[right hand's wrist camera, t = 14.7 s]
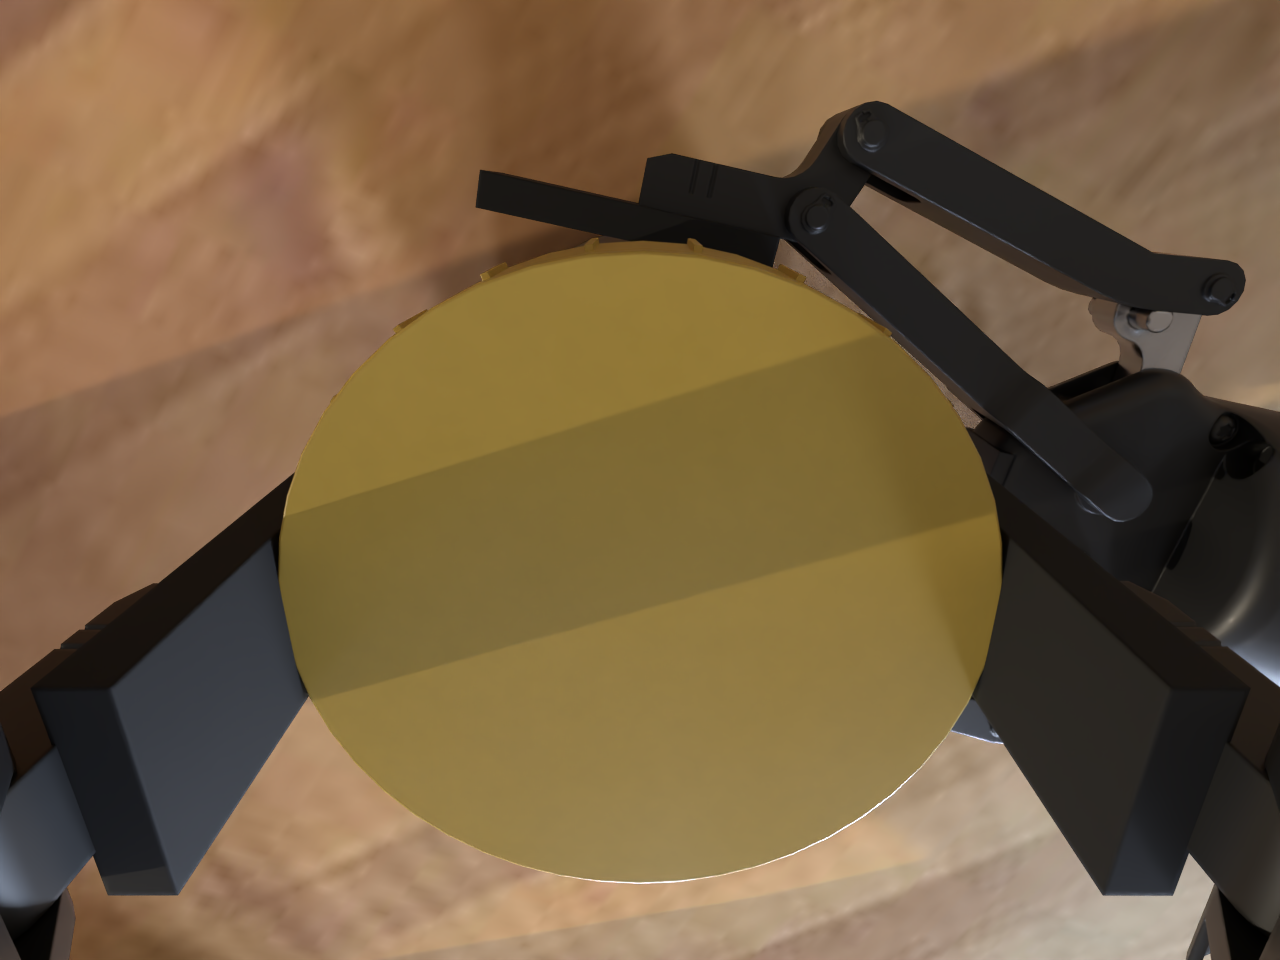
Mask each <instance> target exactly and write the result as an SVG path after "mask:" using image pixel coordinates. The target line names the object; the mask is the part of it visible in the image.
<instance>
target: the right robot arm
mask: <svg viewBox="0 0 1280 960" xmlns="http://www.w3.org/2000/svg"><path fill="white" fill-rule="evenodd" d="M294 474H295V473H293V474H292V475H291V476H290V477H288V478H287V479H286V480H285V481H284V482H282V483H281V484H280V485H279V486H277V487H276V488H275V489H274V490H272V491H271V492H270V493H269V494H268V495H266V496H265V497H264V498H263V499H261V500H260V501H259V502H258V503H257V504H255V505H254V506H253V507H252V508H250V509H249V510H248V511H247V512H245V513H244V514H243V515H242V516H241V517H239V518H238V519H237V520H236V521H234V522H233V523H232V524H231V525H230V526H228V527H227V528H226V529H225V530H223V531H222V532H221V533H220V534H218V535H217V536H216V537H215V538H214V539H212V540H211V541H210V542H209V543H207V544H206V545H205V546H204V547H203V548H201V549H200V550H199V551H198V552H196V553H195V554H194V555H193V556H191V557H190V558H189V559H188V560H187V561H185V562H184V563H183V564H182V565H180V566H179V567H178V568H177V569H176V570H174V571H173V572H172V573H171V574H169V575H168V576H167V577H166V578H164V579H163V580H162V581H161V582H160V583H153V584H151V585H149V586H147V587H145V588H143V589H141V590H139V591H137V592H135V593H133V594H131V595H129V596H127V597H124V598H122V599H120V600H118V601H116V602H114V603H113V604H112V605H110V606H109V607H108V608H107V609H105V610H104V611H103V612H101V613H100V614H99V615H98V616H96V617H95V618H94V619H92V620H91V621H90V622H89V623H87V624H86V625H85V630H78V631H77V632H76V633H75V634H73V635H72V636H71V637H69V638H68V639H67V640H66V641H64V642H63V643H62V644H61V648H60V649H54V650H53V651H52V652H50V653H49V654H48V655H46V656H45V657H44V658H43V659H41V660H40V661H39V662H38V663H36V664H35V665H34V666H32V667H31V668H30V669H29V670H27V671H26V672H25V673H23V674H22V675H21V676H20V677H18V678H17V679H16V680H15V681H13V682H12V683H11V684H9V685H8V686H7V687H6V688H4V689H3V690H2V691H0V960H69V957H70V950H71V944H72V937H73V931H74V925H75V912H74V906H73V902H72V899H71V897H70V894H69V892H68V889H67V886H68V885H69V884H70V883H71V881H72V880H73V879H74V878H75V877H76V875H77V874H78V873H79V872H80V870H81V869H82V868H83V867H84V866H85V864H86V863H87V862H88V861H89V860H90V858H91V857H92V856H93V857H94V859H95V862H96V865H97V867H98V870H99V873H100V875H101V878H102V881H103V883H104V886H105V889H106V891H107V894H108V895H178V894H179V893H180V891H181V890H182V888H183V887H184V885H185V884H186V882H187V881H188V879H189V878H190V876H191V875H192V873H193V872H194V870H195V869H196V867H197V866H198V864H199V862H200V861H201V859H202V858H203V856H204V855H205V853H206V852H207V850H208V849H209V847H210V846H211V844H212V843H213V841H214V840H215V838H216V837H217V835H218V833H219V832H220V830H221V829H222V827H223V826H224V824H225V823H226V821H227V820H228V818H229V817H230V815H231V814H232V812H233V811H234V809H235V808H236V806H237V805H238V803H239V801H240V800H241V798H242V797H243V795H244V794H245V792H246V791H247V789H248V788H249V786H250V785H251V783H252V782H253V780H254V779H255V777H256V776H257V774H258V772H259V771H260V769H261V768H262V766H263V765H264V763H265V762H266V760H267V759H268V757H269V756H270V754H271V753H272V751H273V750H274V748H275V747H276V745H277V744H278V742H279V740H280V739H281V737H282V736H283V734H284V733H285V731H286V730H287V728H288V727H289V725H290V724H291V722H292V721H293V719H294V718H295V716H296V715H297V713H298V712H299V710H300V708H301V707H302V705H303V704H304V702H305V701H306V699H307V698H308V696H309V694H308V692H307V690H306V688H305V685H304V683H303V681H302V678H301V676H300V674H299V672H298V669H297V666H296V663H295V658H294V654H293V649H292V644H291V639H290V635H289V630H288V625H287V620H286V615H285V611H284V606H283V601H282V596H281V591H280V586H279V580H278V563H279V536H280V531H281V526H282V520H283V515H284V509H285V504H286V498H287V494H288V491H289V488H290V485H291V483H292V480H293V477H294ZM986 475H987V478H988V481H989V484H990V487H991V490H992V493H993V496H994V499H995V503H996V509H997V515H998V522H999V528H1000V534H1001V540H1002V585H1001V591H1000V596H999V601H998V605H997V610H996V615H995V620H994V625H993V629H992V634H991V639H990V644H989V649H988V653H987V657H986V662H985V666H984V669H983V672H982V674H981V676H980V678H979V680H978V683H977V685H976V687H975V689H974V691H973V693H972V697H973V698H974V700H975V701H976V703H977V704H978V706H979V707H980V709H981V710H982V712H983V713H984V715H985V716H986V718H987V719H988V721H989V723H990V724H991V726H992V727H993V729H994V730H995V732H996V733H997V735H998V736H999V738H1000V739H1001V741H1002V742H1003V744H1004V745H1005V747H1006V748H1007V750H1008V752H1009V753H1010V755H1011V756H1012V758H1013V759H1014V761H1015V762H1016V764H1017V765H1018V767H1019V768H1020V770H1021V771H1022V773H1023V774H1024V776H1025V777H1026V779H1027V780H1028V782H1029V784H1030V785H1031V787H1032V788H1033V790H1034V791H1035V793H1036V794H1037V796H1038V797H1039V799H1040V800H1041V802H1042V803H1043V805H1044V806H1045V808H1046V809H1047V811H1048V812H1049V814H1050V816H1051V817H1052V819H1053V820H1054V822H1055V823H1056V825H1057V826H1058V828H1059V829H1060V831H1061V832H1062V834H1063V835H1064V837H1065V838H1066V840H1067V841H1068V843H1069V845H1070V846H1071V848H1072V849H1073V851H1074V852H1075V854H1076V855H1077V857H1078V858H1079V860H1080V861H1081V863H1082V864H1083V866H1084V867H1085V869H1086V870H1087V872H1088V873H1089V875H1090V877H1091V878H1092V880H1093V881H1094V883H1095V884H1096V886H1097V887H1098V889H1099V890H1100V892H1101V893H1102V895H1128V896H1173V894H1174V891H1175V889H1176V886H1177V883H1178V881H1179V878H1180V875H1181V873H1182V870H1183V867H1184V865H1185V862H1186V859H1187V857H1188V854H1189V853H1190V854H1191V856H1192V857H1193V858H1194V859H1195V860H1196V862H1197V863H1198V864H1199V865H1200V866H1201V868H1202V869H1203V870H1204V871H1205V872H1206V874H1207V875H1208V876H1209V877H1210V878H1211V880H1212V881H1213V882H1214V883H1215V884H1214V887H1213V889H1212V892H1211V894H1210V897H1209V899H1208V902H1207V904H1206V907H1205V909H1204V912H1203V914H1202V917H1201V919H1200V922H1199V924H1198V927H1197V929H1196V932H1195V934H1194V937H1193V939H1192V942H1191V944H1190V946H1189V949H1188V951H1187V957H1186V960H1203V958H1204V956H1205V955H1208V954H1211V960H1280V687H1279V686H1278V685H1277V684H1275V683H1274V682H1273V681H1271V680H1270V679H1269V678H1268V677H1266V676H1265V675H1264V674H1262V673H1261V672H1260V671H1258V670H1257V669H1256V668H1255V667H1253V666H1252V665H1251V664H1249V663H1248V662H1247V661H1246V660H1244V659H1243V658H1242V657H1240V656H1239V655H1238V654H1237V653H1235V652H1234V651H1233V650H1231V649H1230V648H1229V647H1228V646H1222V645H1221V641H1220V640H1219V639H1217V638H1216V637H1215V636H1213V635H1212V634H1211V633H1210V632H1208V631H1207V630H1206V629H1204V628H1203V627H1197V622H1195V621H1194V620H1193V619H1191V618H1190V617H1189V616H1188V615H1186V614H1185V613H1184V612H1182V611H1181V610H1180V609H1179V608H1177V607H1176V606H1175V605H1173V604H1172V603H1171V602H1170V601H1168V600H1167V599H1165V598H1162V597H1160V596H1158V595H1156V594H1154V593H1152V592H1150V591H1148V590H1146V589H1144V588H1142V587H1140V586H1138V585H1136V584H1134V583H1132V582H1130V581H1119V580H1118V579H1116V578H1115V577H1114V576H1113V575H1111V574H1110V573H1109V572H1108V571H1107V570H1105V569H1104V568H1103V567H1102V566H1100V565H1099V564H1098V563H1097V562H1095V561H1094V560H1093V559H1092V558H1091V557H1089V556H1088V555H1087V554H1086V553H1084V552H1083V551H1082V550H1081V549H1080V548H1078V547H1077V546H1076V545H1075V544H1073V543H1072V542H1071V541H1070V540H1068V539H1067V538H1066V537H1065V536H1064V535H1062V534H1061V533H1060V532H1059V531H1057V530H1056V529H1055V528H1054V527H1053V526H1051V525H1050V524H1049V523H1048V522H1046V521H1045V520H1044V519H1043V518H1041V517H1040V516H1039V515H1038V514H1037V513H1035V512H1034V511H1033V510H1032V509H1030V508H1029V507H1028V506H1027V505H1026V504H1024V503H1023V502H1022V501H1021V500H1019V499H1018V498H1017V497H1016V496H1014V495H1013V494H1012V493H1011V492H1010V491H1008V490H1007V489H1006V488H1005V487H1003V486H1002V485H1001V484H1000V483H999V482H997V481H996V480H995V479H994V478H992V477H991V476H990V475H989V474H987V473H986Z"/></svg>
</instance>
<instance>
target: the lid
mask: <svg viewBox="0 0 1280 960" xmlns="http://www.w3.org/2000/svg"><path fill="white" fill-rule="evenodd" d="M480 276H481V278H482V281H480V282H478V283H476V284H474V285H472V286H471V287H469V288H467V289H465V290H463V291H461V292H459V293H458V294H456V295H454V296H452V297H450V298H449V299H447V300H445V301H443V302H441V303H440V304H438V305H436V306H434V307H432V308H431V309H430V310H427V309H426V310H424V311H422V312H421V313H419V314H417V315H415V316H413V317H412V318H410V319H408V320H406V321H404V322H402V323H401V324H399V325H397V326H396V327H395V328H394V329H393V330H394V332H395V333H396V334H395V335H393V336H392V337H391V338H389V339H388V340H387V341H386V342H385V343H384V344H383V345H382V346H381V347H380V348H379V349H378V350H377V351H376V352H375V353H374V354H373V355H372V356H371V357H370V358H369V359H368V360H367V361H365V362H364V363H363V364H362V365H361V366H360V367H359V368H358V369H357V370H356V371H355V372H354V373H353V374H352V376H351V377H350V378H349V380H348V381H347V382H346V384H345V385H344V386H343V388H342V389H341V390H340V392H339V393H338V394H337V395H335V396H334V397H333V398H332V400H331V401H330V405H329V406H328V407H327V409H326V410H325V411H324V413H323V415H322V417H321V418H320V420H319V422H318V424H317V426H316V428H315V430H314V431H313V433H312V435H311V437H310V439H309V441H308V443H307V444H306V446H305V448H304V450H303V452H302V454H301V457H300V460H299V463H298V466H297V468H296V471H295V474H294V477H293V480H292V483H291V485H290V488H289V491H288V494H287V498H286V504H285V509H284V515H283V520H282V526H281V531H280V536H279V563H278V580H279V586H280V591H281V596H282V601H283V606H284V611H285V615H286V620H287V625H288V630H289V635H290V639H291V644H292V649H293V654H294V658H295V663H296V666H297V669H298V672H299V674H300V676H301V678H302V681H303V683H304V685H305V688H306V690H307V692H308V694H309V697H310V699H311V700H312V702H313V704H314V705H315V707H316V709H317V710H318V712H319V714H320V715H321V717H322V719H323V720H324V722H325V723H326V725H327V727H328V728H329V730H330V732H331V733H332V734H333V736H334V737H335V738H336V739H337V741H338V742H339V743H340V744H341V746H342V747H343V748H344V749H345V751H346V752H347V753H348V754H349V756H350V757H351V758H352V759H353V761H354V762H355V763H356V764H357V765H358V766H359V767H360V768H361V769H362V770H363V771H364V772H365V773H366V774H367V775H368V776H369V777H370V778H371V779H372V780H373V781H374V782H375V783H376V784H377V785H378V786H379V787H380V788H381V789H382V790H383V791H385V792H386V793H387V794H389V795H390V796H391V797H392V798H394V799H395V800H396V801H398V802H399V803H400V804H401V805H403V806H404V807H405V808H407V809H408V810H409V811H410V812H412V813H413V814H414V815H416V816H417V817H419V818H421V819H422V820H424V821H426V822H427V823H429V824H430V825H432V826H434V827H435V828H437V829H439V830H440V831H442V832H443V833H445V834H447V835H448V836H450V837H452V838H455V839H457V840H459V841H461V842H463V843H465V844H467V845H469V846H471V847H473V848H475V849H478V850H480V851H482V852H484V853H487V854H489V855H492V856H495V857H498V858H501V859H503V860H506V861H509V862H512V863H514V864H517V865H520V866H524V867H528V868H532V869H536V870H540V871H544V872H548V873H552V874H556V875H560V876H566V877H573V878H580V879H586V880H593V881H602V882H620V883H660V882H680V881H687V880H694V879H701V878H709V877H716V876H720V875H725V874H729V873H733V872H737V871H741V870H746V869H750V868H754V867H757V866H760V865H763V864H766V863H769V862H772V861H775V860H778V859H780V858H783V857H786V856H789V855H792V854H794V853H796V852H799V851H801V850H803V849H805V848H807V847H809V846H812V845H814V844H816V843H818V842H820V841H822V840H825V839H827V838H829V837H830V836H832V835H834V834H835V833H837V832H839V831H840V830H842V829H844V828H845V827H847V826H849V825H850V824H852V823H854V822H856V821H857V820H859V819H861V818H862V817H864V816H865V815H866V814H867V813H869V812H870V811H871V810H873V809H874V808H875V807H877V806H878V805H879V804H881V803H882V802H883V801H885V800H886V799H887V798H889V797H890V796H891V795H893V794H894V793H895V792H896V791H897V790H898V789H899V788H900V787H901V786H902V785H903V784H904V783H905V782H906V781H907V780H909V779H910V778H911V777H912V776H913V775H914V774H915V773H916V772H917V771H918V770H919V769H920V768H921V767H922V766H923V765H924V764H925V762H926V761H927V760H928V759H929V758H930V756H931V755H932V754H933V753H934V751H935V750H936V749H937V748H938V747H939V745H940V744H941V743H942V742H943V741H944V739H945V738H946V737H947V736H948V734H949V732H950V731H951V729H952V728H953V726H954V724H955V723H956V721H957V720H958V718H959V717H960V715H961V713H962V712H963V710H964V709H965V707H966V705H967V704H968V702H969V700H970V698H971V696H972V693H973V691H974V689H975V687H976V685H977V683H978V680H979V678H980V676H981V674H982V672H983V669H984V666H985V662H986V657H987V653H988V649H989V644H990V639H991V634H992V629H993V625H994V620H995V615H996V610H997V605H998V601H999V596H1000V591H1001V585H1002V540H1001V534H1000V528H999V522H998V515H997V509H996V503H995V499H994V496H993V493H992V490H991V487H990V484H989V481H988V478H987V475H986V472H985V469H984V466H983V462H982V459H981V457H980V455H979V453H978V451H977V449H976V447H975V445H974V443H973V441H972V439H971V438H970V436H969V434H968V432H967V430H966V428H965V426H964V424H963V422H962V420H961V418H960V416H959V415H958V414H957V412H956V411H955V409H954V408H953V405H952V403H951V402H950V401H949V400H948V399H946V397H945V396H944V394H943V393H942V392H941V390H940V389H939V388H938V386H937V385H936V383H935V382H934V381H933V379H932V378H931V377H930V376H929V375H928V374H927V373H926V372H925V371H924V370H923V369H922V368H921V367H920V366H919V365H918V364H917V363H916V362H915V361H914V360H913V359H912V358H911V357H910V356H909V355H908V354H907V353H906V352H905V351H904V350H903V349H902V348H901V347H900V346H899V345H898V344H897V343H896V342H895V341H894V340H892V339H891V338H890V336H891V334H892V332H890V331H889V330H888V329H887V328H885V327H883V326H881V325H880V324H878V323H876V322H874V321H872V320H871V319H869V318H867V317H865V316H863V315H862V314H860V313H856V312H855V311H853V310H851V309H849V308H848V307H846V306H844V305H842V304H840V303H839V302H837V301H835V300H833V299H832V298H830V297H828V296H826V295H824V294H823V293H821V292H819V291H817V290H815V289H813V288H812V287H810V286H808V285H806V284H804V281H805V279H806V277H805V276H803V275H801V274H799V273H797V272H796V271H794V270H792V269H790V268H788V267H786V266H784V265H781V264H780V265H779V267H778V270H777V269H775V268H772V267H769V266H767V265H764V264H761V263H758V262H756V261H753V260H750V259H748V258H745V257H742V256H739V255H737V254H732V253H728V252H723V251H719V250H714V249H709V248H705V247H703V246H702V245H701V244H700V243H699V242H698V241H697V240H695V239H691V238H688V241H687V244H679V243H666V242H653V241H630V242H614V243H599V238H591V239H590V240H589V241H588V242H587V243H586V244H585V245H584V246H581V247H576V248H571V249H566V250H561V251H557V252H552V253H548V254H545V255H542V256H539V257H536V258H534V259H531V260H528V261H525V262H522V263H519V264H516V265H514V266H511V267H508V266H507V264H506V262H504V263H502V264H499V265H497V266H496V267H494V268H492V269H490V270H488V271H486V272H484V273H482V274H480Z"/></svg>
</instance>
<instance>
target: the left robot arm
mask: <svg viewBox="0 0 1280 960" xmlns="http://www.w3.org/2000/svg"><path fill="white" fill-rule="evenodd" d="M864 185H866V186H868V187H870V188H871V189H873V190H875V191H877V192H879V193H881V194H883V195H884V196H886V197H888V198H890V199H892V200H894V201H896V202H898V203H899V204H901V205H903V206H905V207H907V208H909V209H911V210H912V211H914V212H916V213H918V214H920V215H922V216H924V217H925V218H927V219H929V220H931V221H933V222H935V223H937V224H938V225H940V226H942V227H944V228H946V229H948V230H950V231H952V232H953V233H955V234H957V235H959V236H961V237H963V238H965V239H966V240H968V241H970V242H972V243H974V244H976V245H978V246H979V247H981V248H983V249H985V250H987V251H989V252H991V253H992V254H994V255H996V256H998V257H1000V258H1002V259H1004V260H1006V261H1007V262H1009V263H1011V264H1013V265H1015V266H1017V267H1019V268H1020V269H1022V270H1024V271H1026V272H1028V273H1030V274H1032V275H1033V276H1035V277H1037V278H1039V279H1041V280H1043V281H1045V282H1047V283H1049V284H1051V285H1053V286H1056V287H1058V288H1060V289H1063V290H1066V291H1070V292H1073V293H1076V294H1080V295H1085V296H1089V297H1093V298H1092V299H1091V301H1090V303H1089V307H1088V310H1089V313H1090V314H1091V315H1092V319H1093V322H1094V324H1095V326H1096V327H1097V328H1098V329H1099V330H1100V331H1102V332H1104V333H1106V334H1109V335H1111V336H1113V337H1114V338H1115V339H1116V340H1117V342H1118V344H1119V346H1120V358H1119V361H1115V362H1111V363H1109V364H1106V365H1104V366H1101V367H1099V368H1096V369H1094V370H1091V371H1089V372H1086V373H1084V374H1081V375H1079V376H1076V377H1074V378H1071V379H1069V380H1066V381H1064V382H1061V383H1059V384H1056V385H1054V386H1051V387H1049V388H1047V387H1045V386H1044V385H1043V384H1042V383H1040V382H1039V381H1037V380H1036V379H1035V378H1033V377H1032V376H1030V375H1029V374H1028V373H1026V372H1025V371H1024V370H1023V369H1022V368H1020V367H1019V366H1018V365H1017V364H1016V363H1015V362H1014V361H1013V360H1012V359H1011V358H1010V357H1009V356H1008V355H1007V354H1006V353H1004V352H1003V351H1002V350H1001V349H1000V348H999V347H998V346H997V345H996V344H995V343H994V342H993V341H992V340H991V339H990V338H989V337H988V336H986V335H985V334H984V333H983V332H982V331H981V330H980V329H979V328H978V327H977V326H976V325H975V324H974V323H973V322H972V321H971V320H970V319H968V318H967V317H966V316H965V315H964V314H963V313H962V312H961V311H960V310H959V309H958V308H957V307H956V306H955V305H954V304H953V303H952V302H950V301H949V300H948V299H947V298H946V297H945V296H944V295H943V294H942V293H941V292H940V291H939V290H938V289H937V288H936V287H935V286H933V285H932V284H931V283H930V282H929V281H928V280H927V279H926V278H925V277H924V276H923V275H922V274H921V273H920V272H919V271H918V270H917V269H915V268H914V267H913V266H912V265H911V264H910V263H909V262H908V261H907V260H906V259H905V258H904V257H903V256H902V255H901V254H900V253H899V252H897V251H896V250H895V249H894V248H893V247H892V246H891V245H890V244H889V243H888V242H887V241H886V240H885V239H884V238H883V237H882V236H881V235H879V234H878V233H877V232H876V231H875V230H874V229H873V228H872V227H871V226H870V225H869V224H868V223H867V222H866V221H865V220H864V219H863V218H861V217H860V216H859V215H858V214H857V213H856V212H855V211H854V210H853V209H852V208H851V207H850V205H851V204H852V202H853V201H854V199H855V198H856V197H857V195H858V194H859V192H860V191H861V189H862V188H863V186H864ZM476 208H481V209H485V210H490V211H495V212H499V213H504V214H508V215H513V216H517V217H522V218H527V219H531V220H536V221H540V222H545V223H549V224H554V225H558V226H563V227H568V228H572V229H577V230H581V231H586V232H590V233H595V234H599V235H604V236H609V237H613V238H618V239H622V240H627V241H653V242H666V243H679V244H687V241H688V238H691V239H695V240H697V241H698V242H699V243H700V244H701V245H702V246H703V247H705V248H709V249H714V250H719V251H723V252H728V253H732V254H737V255H739V256H742V257H745V258H748V259H750V260H753V261H756V262H758V263H761V264H764V265H767V266H769V267H773V263H774V259H775V255H776V251H777V248H778V244H779V240H780V238H781V239H784V240H785V241H786V242H787V243H789V244H790V245H791V246H792V247H793V248H794V249H795V250H796V251H797V252H798V253H800V254H801V255H802V256H803V257H804V258H805V259H806V260H807V261H808V262H810V263H811V264H812V265H813V266H814V267H815V268H816V269H817V270H818V271H820V272H821V273H822V274H823V275H824V276H825V277H826V278H827V279H828V280H830V281H831V282H832V283H833V284H834V285H835V286H836V287H837V288H838V289H839V290H841V291H842V292H843V293H844V294H845V295H846V296H847V297H848V298H849V299H851V300H852V301H853V302H854V303H855V304H856V305H857V306H858V307H859V308H861V309H862V310H863V311H864V312H865V313H866V314H867V315H868V316H869V317H871V318H872V319H873V320H874V321H875V322H876V323H878V324H880V325H881V326H883V327H885V328H887V329H888V330H889V331H890V332H892V334H891V336H892V337H893V338H894V339H895V340H896V341H897V342H898V343H899V344H900V345H902V346H903V347H904V348H905V349H906V350H907V351H908V352H909V353H910V354H912V355H913V356H914V357H915V358H916V359H917V360H918V361H919V362H920V363H921V364H923V365H924V366H925V367H926V368H927V369H928V370H929V371H930V372H931V373H933V374H934V375H935V376H936V377H937V378H938V379H939V380H940V381H941V382H943V383H944V384H945V385H946V387H947V388H948V390H949V391H950V392H952V393H953V394H954V395H955V396H956V397H957V398H958V399H959V400H960V401H961V402H963V403H964V404H965V405H966V406H967V407H968V408H969V409H970V410H971V411H973V412H974V413H975V414H976V415H977V416H978V417H979V418H980V419H981V420H982V421H981V422H980V423H979V424H978V425H977V427H976V428H975V429H972V428H967V427H966V430H967V432H968V434H969V436H970V438H971V439H972V441H973V443H974V445H975V447H976V449H977V451H978V453H979V455H980V457H981V459H982V462H983V466H984V469H985V472H986V473H987V474H989V475H990V476H991V477H992V478H994V479H995V480H996V481H997V482H999V483H1000V484H1001V485H1002V486H1003V487H1005V488H1006V489H1007V490H1008V491H1010V492H1011V493H1012V494H1013V495H1014V496H1016V497H1017V498H1018V499H1019V500H1021V501H1022V502H1023V503H1024V504H1026V505H1027V506H1028V507H1029V508H1030V509H1032V510H1033V511H1034V512H1035V513H1037V514H1038V515H1039V516H1040V517H1041V518H1043V519H1044V520H1045V521H1046V522H1048V523H1049V524H1050V525H1051V526H1053V527H1054V528H1055V529H1056V530H1057V531H1059V532H1060V533H1061V534H1062V535H1064V536H1065V537H1066V538H1067V539H1068V540H1070V541H1071V542H1072V543H1073V544H1075V545H1076V546H1077V547H1078V548H1080V549H1081V550H1082V551H1083V552H1084V553H1086V554H1087V555H1088V556H1089V557H1091V558H1092V559H1093V560H1094V561H1095V562H1097V563H1098V564H1099V565H1100V566H1102V567H1103V568H1104V569H1105V570H1107V571H1108V572H1109V573H1110V574H1111V575H1113V576H1114V577H1115V578H1116V579H1118V580H1119V581H1130V582H1132V583H1134V584H1136V585H1138V586H1140V587H1142V588H1144V589H1146V590H1148V591H1150V592H1152V593H1154V594H1156V595H1158V596H1160V597H1162V598H1165V599H1167V600H1168V601H1170V602H1171V603H1172V604H1173V605H1175V606H1176V607H1177V608H1179V609H1180V610H1181V611H1182V612H1184V613H1185V614H1186V615H1188V616H1189V617H1190V618H1191V619H1193V620H1194V621H1195V622H1197V627H1203V628H1204V629H1206V630H1207V631H1208V632H1210V633H1211V634H1212V635H1213V636H1215V637H1216V638H1217V639H1219V640H1220V641H1221V645H1222V646H1228V647H1229V648H1230V649H1231V650H1233V651H1234V652H1235V653H1237V654H1238V655H1239V656H1240V657H1242V658H1243V659H1244V660H1246V661H1247V662H1248V663H1249V664H1251V665H1252V666H1253V667H1255V668H1256V669H1257V670H1258V671H1260V672H1261V673H1262V674H1264V675H1265V676H1266V677H1268V678H1269V679H1270V680H1271V681H1273V682H1274V683H1275V684H1277V685H1278V686H1279V687H1280V412H1277V411H1273V410H1268V409H1263V408H1259V407H1254V406H1249V405H1245V404H1240V403H1235V402H1231V401H1226V400H1221V399H1217V398H1212V397H1207V396H1203V395H1202V394H1201V393H1200V392H1199V391H1198V390H1197V389H1196V388H1195V387H1194V386H1193V384H1192V383H1191V382H1190V381H1189V380H1188V379H1187V378H1186V377H1184V376H1183V375H1181V374H1180V373H1181V370H1182V367H1183V365H1184V362H1185V359H1186V356H1187V354H1188V351H1189V348H1190V346H1191V343H1192V340H1193V338H1194V335H1195V332H1196V329H1197V327H1198V324H1199V321H1200V319H1201V316H1202V315H1206V316H1209V315H1218V314H1220V313H1222V312H1224V311H1226V310H1229V309H1230V308H1231V307H1232V306H1233V305H1234V304H1235V303H1236V302H1237V301H1238V300H1239V298H1240V296H1241V295H1242V293H1243V291H1244V287H1245V281H1246V279H1245V275H1244V271H1243V269H1242V268H1241V267H1240V266H1239V265H1238V264H1237V263H1234V262H1231V261H1228V260H1219V259H1211V258H1202V257H1193V256H1185V255H1176V254H1168V253H1159V252H1151V251H1149V250H1147V249H1146V248H1144V247H1142V246H1140V245H1138V244H1137V243H1135V242H1133V241H1131V240H1130V239H1128V238H1126V237H1124V236H1122V235H1121V234H1119V233H1117V232H1115V231H1113V230H1112V229H1110V228H1108V227H1106V226H1105V225H1103V224H1101V223H1099V222H1097V221H1096V220H1094V219H1092V218H1090V217H1088V216H1087V215H1085V214H1083V213H1081V212H1080V211H1078V210H1076V209H1074V208H1072V207H1071V206H1069V205H1067V204H1065V203H1064V202H1062V201H1060V200H1058V199H1056V198H1055V197H1053V196H1051V195H1049V194H1047V193H1046V192H1044V191H1042V190H1040V189H1039V188H1037V187H1035V186H1033V185H1031V184H1030V183H1028V182H1026V181H1024V180H1022V179H1021V178H1019V177H1017V176H1015V175H1014V174H1012V173H1010V172H1008V171H1006V170H1005V169H1003V168H1001V167H999V166H998V165H996V164H994V163H992V162H990V161H989V160H987V159H985V158H983V157H981V156H980V155H978V154H976V153H974V152H973V151H971V150H969V149H967V148H965V147H964V146H962V145H960V144H958V143H956V142H955V141H953V140H951V139H949V138H948V137H946V136H944V135H942V134H940V133H939V132H937V131H935V130H933V129H932V128H930V127H928V126H926V125H924V124H923V123H921V122H919V121H917V120H915V119H914V118H912V117H910V116H908V115H907V114H905V113H903V112H901V111H899V110H898V109H896V108H894V107H892V106H890V105H889V104H886V103H883V102H879V101H873V102H867V103H864V104H861V105H859V106H856V107H853V108H851V109H848V110H846V111H843V112H841V113H838V114H836V115H834V116H833V117H831V118H829V119H828V120H827V121H826V122H825V123H824V125H823V126H822V127H821V129H820V131H819V135H818V138H817V141H816V142H815V144H814V145H813V147H812V148H811V150H810V151H809V153H808V155H807V156H806V158H805V159H804V161H803V162H802V163H801V165H800V166H799V167H798V168H797V169H796V170H795V171H794V172H792V173H791V174H789V175H787V176H785V177H783V178H778V177H773V176H768V175H764V174H760V173H755V172H751V171H746V170H742V169H738V168H733V167H729V166H725V165H720V164H715V163H712V162H707V161H703V160H698V159H694V158H690V157H685V156H681V155H677V154H667V155H661V156H656V157H651V158H647V162H646V168H645V173H644V178H643V183H642V188H641V193H640V198H639V203H635V202H631V201H626V200H622V199H617V198H613V197H608V196H604V195H599V194H595V193H590V192H586V191H581V190H577V189H572V188H568V187H563V186H559V185H555V184H550V183H546V182H541V181H537V180H532V179H528V178H523V177H519V176H514V175H510V174H505V173H500V172H492V171H485V170H480V174H479V183H478V191H477V200H476ZM951 731H952V732H956V733H959V734H963V735H966V736H970V737H974V738H977V739H981V740H984V741H988V742H991V743H999V744H1001V743H1003V742H1002V741H1001V739H1000V738H999V736H998V735H997V733H996V732H995V730H994V729H993V727H992V726H991V724H990V723H989V721H988V719H987V718H986V716H985V715H984V713H983V712H982V710H981V709H980V707H979V706H978V704H977V703H976V701H975V700H974V698H973V697H972V696H971V698H970V700H969V702H968V704H967V705H966V707H965V709H964V710H963V712H962V713H961V715H960V717H959V718H958V720H957V721H956V723H955V724H954V726H953V728H952V729H951Z"/></svg>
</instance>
